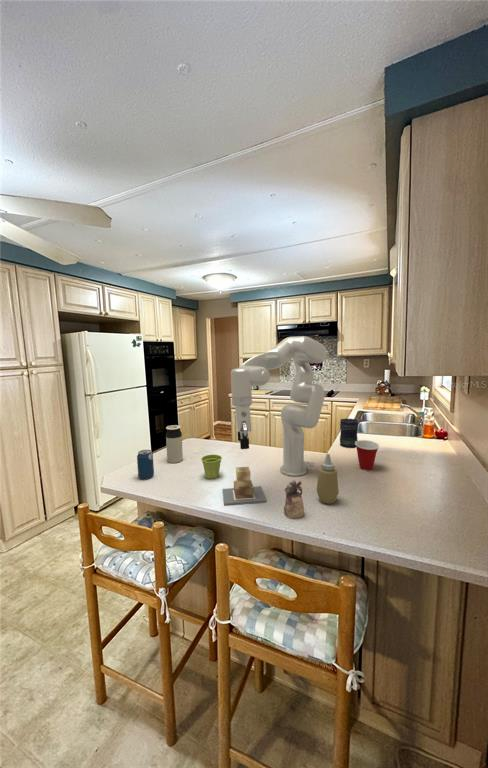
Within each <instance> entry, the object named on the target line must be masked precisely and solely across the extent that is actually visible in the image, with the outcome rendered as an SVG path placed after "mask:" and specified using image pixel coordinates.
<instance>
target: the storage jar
mask: <svg viewBox="0 0 488 768" xmlns="http://www.w3.org/2000/svg"><path fill="white" fill-rule="evenodd" d="M339 426H340V428H339V429H340V435H339V446H340V447H341V448H346V449H357V448H356V445H355V442H356V441H359V440H358V429H359V428H358V427H359V420H358V419H354V418H342V419H341V418H340V422H339Z"/></svg>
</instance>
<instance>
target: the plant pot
mask: <svg viewBox="0 0 488 768" xmlns="http://www.w3.org/2000/svg"><path fill="white" fill-rule="evenodd" d="M222 459H223V457H222V455H219V454H206V455H204V456H202V457H201V458H200V461H202V465H203V471H204V475H205V478H206V479H208V480H209V479H210V480H211V479H212V480H214V479H216V478H217V479H218V477H220V470H221V469H220V468H221V462H222Z"/></svg>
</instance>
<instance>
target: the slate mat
mask: <svg viewBox="0 0 488 768" xmlns="http://www.w3.org/2000/svg"><path fill="white" fill-rule="evenodd" d="M253 488H254V498H243V499H235V494H234V487H231V488H222V499H223V505H224V506H235V505H251V504H261V503H263V504H264V503H267V499H266V495H265V493H264V491H263V487H262V486H261V485H259V486H257V485H256V486H253Z"/></svg>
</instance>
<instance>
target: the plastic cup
mask: <svg viewBox="0 0 488 768" xmlns="http://www.w3.org/2000/svg"><path fill="white" fill-rule="evenodd" d="M355 445H356V448H355V449H356V453H357V459H358V465H359V468H360V469H362V470H365V471H371V470H373V468H374V464H375V460H376V457H377V453H378V449H379V448H380V444H379V443H377V442H375V441H372V440H367V439H366V440H365V439H364V440H363V439H360V440H358V441H356V442H355Z"/></svg>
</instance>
